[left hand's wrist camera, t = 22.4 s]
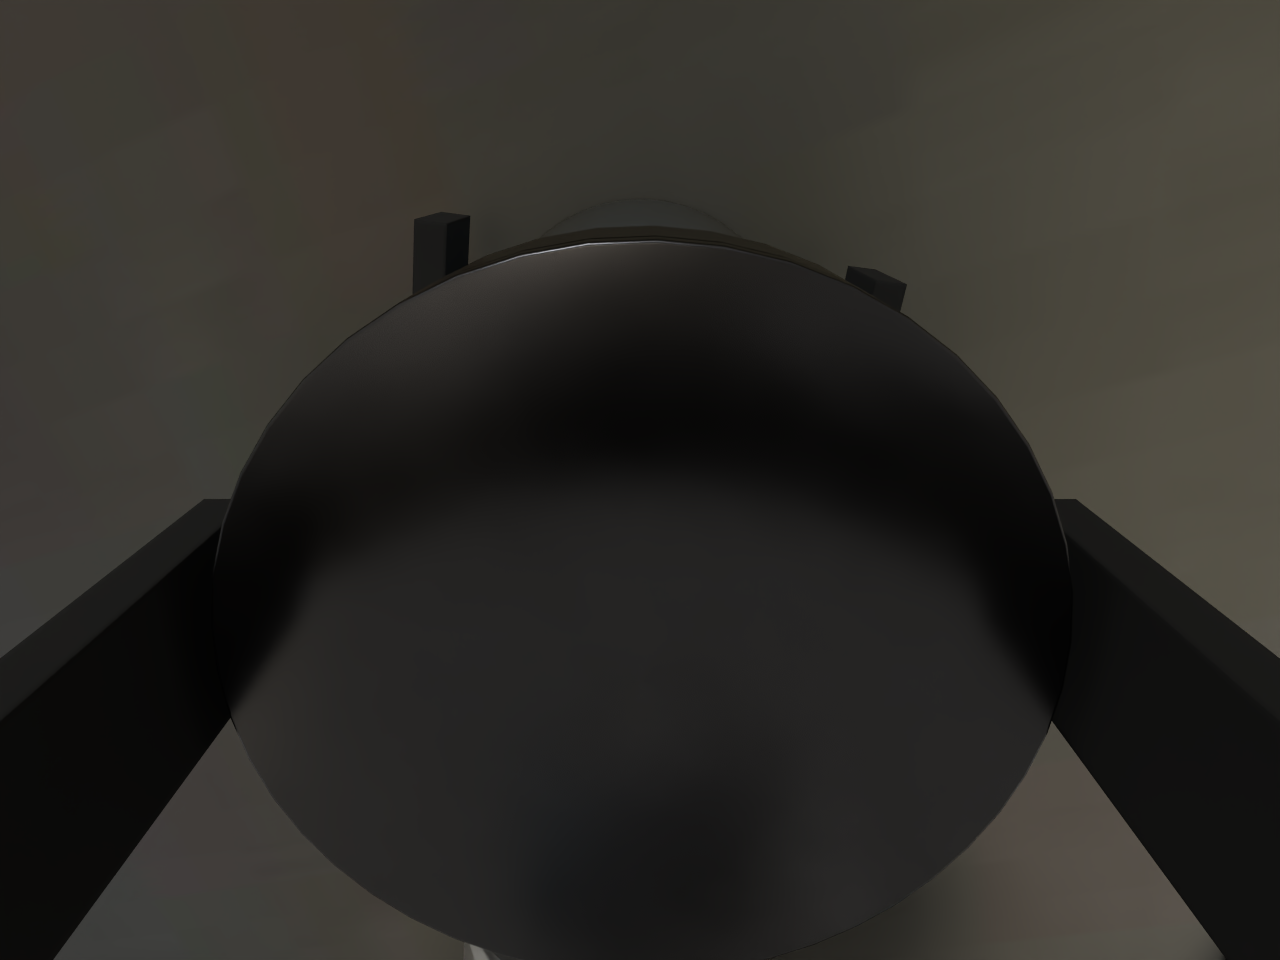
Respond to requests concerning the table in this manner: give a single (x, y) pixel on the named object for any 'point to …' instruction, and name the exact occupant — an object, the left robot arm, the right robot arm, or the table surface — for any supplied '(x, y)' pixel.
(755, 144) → the table surface
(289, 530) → the lid
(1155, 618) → the left robot arm
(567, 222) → the screw-top jar
